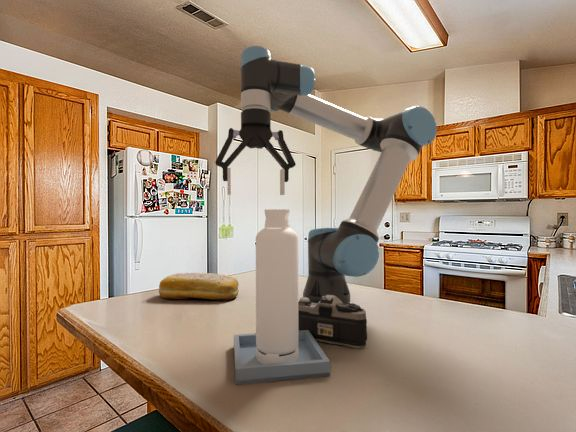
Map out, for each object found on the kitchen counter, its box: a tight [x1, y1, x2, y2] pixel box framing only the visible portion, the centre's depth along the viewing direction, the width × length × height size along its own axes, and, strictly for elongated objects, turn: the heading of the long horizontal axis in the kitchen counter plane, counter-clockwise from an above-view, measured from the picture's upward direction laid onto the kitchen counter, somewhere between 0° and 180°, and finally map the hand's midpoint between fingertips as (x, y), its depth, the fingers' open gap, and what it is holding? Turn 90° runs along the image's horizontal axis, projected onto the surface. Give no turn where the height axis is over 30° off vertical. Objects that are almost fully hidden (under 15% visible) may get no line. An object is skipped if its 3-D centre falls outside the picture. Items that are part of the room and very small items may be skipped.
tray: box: [233, 330, 331, 385], centre depth 64 cm, size 16×16×2 cm
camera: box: [298, 295, 368, 350], centre depth 76 cm, size 16×10×10 cm, turn 64°
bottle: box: [255, 208, 299, 364], centre depth 64 cm, size 8×8×28 cm
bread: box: [158, 272, 240, 301], centre depth 114 cm, size 13×26×8 cm, turn 87°
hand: (256, 194), depth 87 cm, fingers open, 13 cm apart
